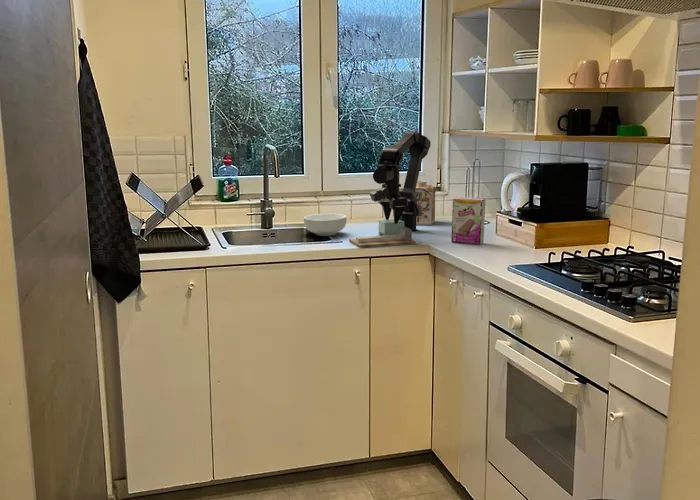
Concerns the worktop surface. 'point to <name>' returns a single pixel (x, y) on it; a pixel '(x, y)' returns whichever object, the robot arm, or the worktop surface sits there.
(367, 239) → the metal rail
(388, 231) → the block
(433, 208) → the decorative jar
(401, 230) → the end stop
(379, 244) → the mounting board
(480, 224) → the candy bar box
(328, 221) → the cereal bowl
